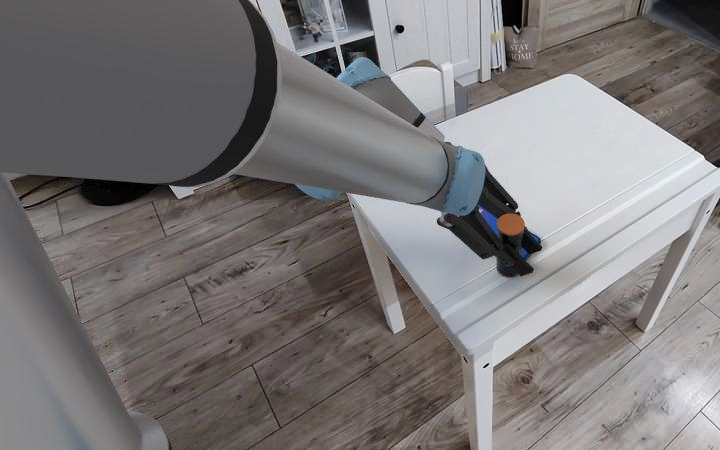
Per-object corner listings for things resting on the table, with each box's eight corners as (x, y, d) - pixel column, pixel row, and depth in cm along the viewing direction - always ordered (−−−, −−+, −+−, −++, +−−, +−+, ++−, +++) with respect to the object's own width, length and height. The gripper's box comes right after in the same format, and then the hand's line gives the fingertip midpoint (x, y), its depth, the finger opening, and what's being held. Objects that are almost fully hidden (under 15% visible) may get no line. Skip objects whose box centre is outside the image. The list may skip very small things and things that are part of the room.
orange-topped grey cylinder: (495, 276, 75) (495, 233, 67) (496, 256, 78) (497, 212, 70) (520, 278, 75) (524, 234, 67) (521, 258, 78) (525, 214, 70)
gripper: (438, 134, 72) (530, 230, 81) (384, 206, 62) (497, 308, 70) (468, 113, 67) (562, 218, 76) (415, 187, 57) (533, 299, 65)
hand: (531, 261), depth 73 cm, fingers closed on orange-topped grey cylinder, 4 cm apart
